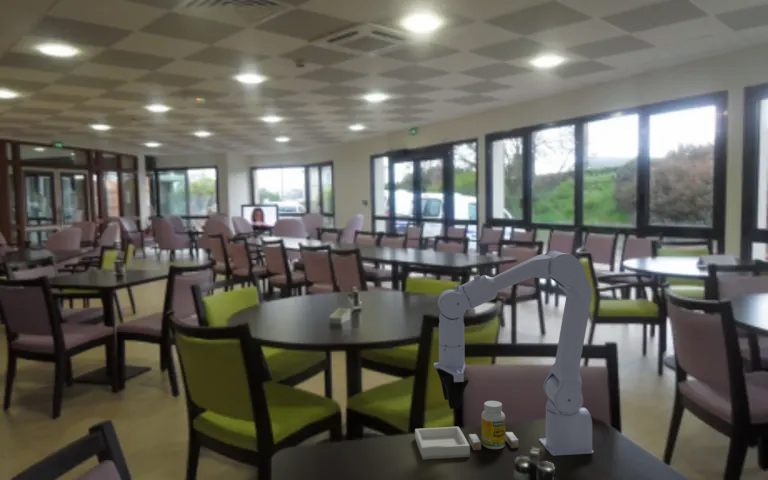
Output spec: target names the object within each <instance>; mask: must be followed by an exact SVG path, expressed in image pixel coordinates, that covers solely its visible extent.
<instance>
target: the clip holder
mask: <svg viewBox="0 0 768 480" xmlns="http://www.w3.org/2000/svg"><path fill="white" fill-rule="evenodd" d="M505 442H507V444H508V445H509V447H510V448H511V449H517V448H518V449H519V438H517V436H516V435H515V434H514V432H513V431H505ZM468 443H469V445H470V447H471V448H472V450H473V451H481V450H482V440H480V438H479V436H478V435H477V434H476V433H470V434H468Z"/></svg>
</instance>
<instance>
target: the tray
mask: <svg viewBox="0 0 768 480" xmlns="http://www.w3.org/2000/svg"><path fill="white" fill-rule="evenodd" d="M414 439H415V443H416V446H417V448H418V451H419V453H420V454H419V455H420V456H421V459H422V460H436V459H437V460H438V459H454V458H455V459H457V458H470V454H471V450H470V449H471V444H470V443H469V441H467V439H466V437H465V435H464V433H463V431H462V430H461V428H460V427H459V426H445V427H444V426H443V427H426V428H425V427H424V428H415V429H414Z"/></svg>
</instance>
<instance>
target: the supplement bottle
mask: <svg viewBox="0 0 768 480" xmlns="http://www.w3.org/2000/svg"><path fill="white" fill-rule="evenodd" d="M483 405H484V406H483V409H484V410H483V411H482V413H481V415H480V416H481V417H480V418H481V422H480V423H481V446H483V447H484V448H486V449H490V450H500V449H503V448H504V447H505V446H506V440H505V432H506V414H505V413H504V412H503V411H502V410H503V403H502V402H500V401H498V400H487V401H485V402H484V403H483Z"/></svg>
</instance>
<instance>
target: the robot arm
mask: <svg viewBox="0 0 768 480" xmlns="http://www.w3.org/2000/svg"><path fill="white" fill-rule="evenodd" d="M585 269H586V268H585V265H584V264H583V263H582V262H581V261H580V260H579V259H578V258H576V256H574V255H573V254H571V253H564V252H561V251H560V250H549V251H547V252H546V253H542V254H538V255H536V256H533V257H531V258H528V259H527V260H525V261H523V262H521V263H518V264H516V265H515V266H513V267H510V268H508V269H507V270H504V271H502V272H501V273H499V274H496V275H495V276H492V277H491V276H489V275H486V274H483V275H479V274H476V275H473V279H472V280H470V281H467V282H465V283H464V284H461V285H459V284H455V285H454V286H453V287H454V289H450V288H449V289H446V290H443V291H442V292H441V293H440V295H439V296H438V299H437V301H436V304H437V308H438V309H439V310H440V311H439V315H438V320H439V323H438V362H433V367H434V368H435V370H436V373H437V374H438V377H439V380H440V384H441V388H442V390H441V391H442V394H443V397H444V400H445V401H448V402H447V403H448V407H449V409H450V410H452V409H453V410H456V409H459V410H460V409H461V403H462V399H463V395H464V392H465V390H466V387H467V386H468V384H469V381H470V379H469V377H467V376H465V374H464V372H465V369H466V362H465V361H466V360H465V358H466V357H465V349H466V347H465V339H466V338H465V337H466V336H465V323H464V321H465V320H464V319H465V318H464V317H465V316H464V315H465V314H466V311H467V310H469V311H470V310H473V309H475V308H477V307H479V306H481V305H484V304H486V303H489V302H490V301H492V300H495V299H496V298H497V295H498V294H499V291H501V290H503V289H506V288H509V287H511V286H514V285H516V284H519V283H521V282H524V281H526V280H529V279H532V278H537V279H545V280H549V279H551V280H552V281H553V282H555V283H556V284H557V285H558V287H559V288H560V289H561V290H562V291H563V293H564V294H565V295H566V297H565V302H564V308H563V313H562V320H561V326H560V331H559V337H558V343H557V348H556V355H555V362H554V364H552V366H551V367H550V370H549V373H548V376H547V377H546V378H545V380H544V382H543V388H542V389H543V391H544V392H543V393H544V394H545V395H546V396H547V397H548V399H547V402H546V404H545V438H539V439H538V441H539V442H540V444H541V445H542V446H543V447H544V448H545V449H546V450H547V451H548V453H549V454H550V455H551V456H569V455H570V456H573V455H586V454H587V455H589V454H594V452H595V451H594V450H593V421H592V416H591V413H590V411H589V410H588V409H587V408H586V407H583V404H584V397H583V396H584V395H583V392H582V385H583V381H582V377H581V374H580V365H581V360H582V355H583V350H584V349H583V348H584V343H585V337H586V330H587V326H588V320H589V316H590V315H589V313H590V307H591V302H592V297H593V288H592V286H591V284H590V282H589V280H588V276H587V273H586V270H585Z"/></svg>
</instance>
